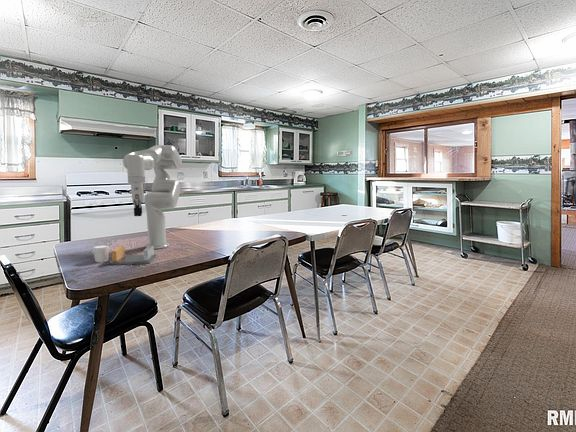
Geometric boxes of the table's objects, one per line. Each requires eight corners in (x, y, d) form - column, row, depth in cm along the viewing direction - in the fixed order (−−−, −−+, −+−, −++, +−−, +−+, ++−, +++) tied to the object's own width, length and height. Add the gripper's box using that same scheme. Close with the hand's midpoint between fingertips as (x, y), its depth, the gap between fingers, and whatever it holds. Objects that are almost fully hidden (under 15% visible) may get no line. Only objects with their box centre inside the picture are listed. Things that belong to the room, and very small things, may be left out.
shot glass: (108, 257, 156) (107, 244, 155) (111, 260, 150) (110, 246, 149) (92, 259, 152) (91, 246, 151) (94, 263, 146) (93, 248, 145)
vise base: (109, 264, 144) (108, 252, 143) (119, 257, 156) (118, 245, 155) (149, 263, 147) (149, 251, 146) (156, 256, 158) (156, 245, 157)
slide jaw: (112, 261, 145) (111, 251, 144) (120, 255, 155) (119, 246, 154) (116, 261, 145) (116, 251, 144) (124, 255, 155) (124, 246, 154)
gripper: (144, 180, 144) (146, 216, 146) (145, 179, 159) (146, 212, 162) (126, 180, 141) (128, 217, 143) (129, 179, 156) (130, 213, 159)
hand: (138, 214), depth 152 cm, fingers open, 9 cm apart
